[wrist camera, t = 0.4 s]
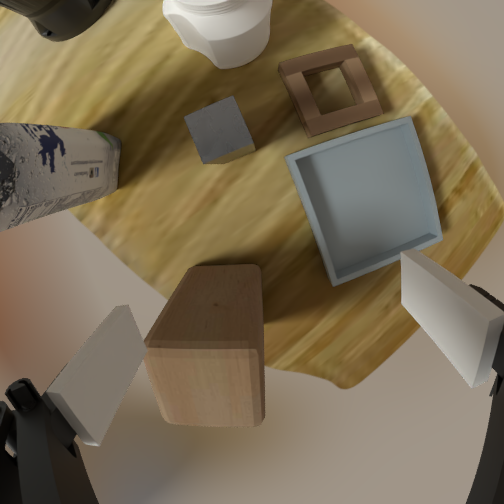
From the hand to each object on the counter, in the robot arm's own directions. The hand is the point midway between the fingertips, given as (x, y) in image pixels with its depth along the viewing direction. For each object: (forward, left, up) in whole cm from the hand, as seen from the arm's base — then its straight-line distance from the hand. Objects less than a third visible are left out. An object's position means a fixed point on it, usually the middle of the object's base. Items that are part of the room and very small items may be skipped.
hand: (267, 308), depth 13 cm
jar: (-25, +5, -27) cm, 37 cm away
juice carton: (-16, -19, -27) cm, 36 cm away
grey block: (-10, 0, -26) cm, 28 cm away
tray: (+3, +14, -26) cm, 30 cm away
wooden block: (+9, -9, -27) cm, 29 cm away
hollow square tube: (-12, +14, -26) cm, 32 cm away
